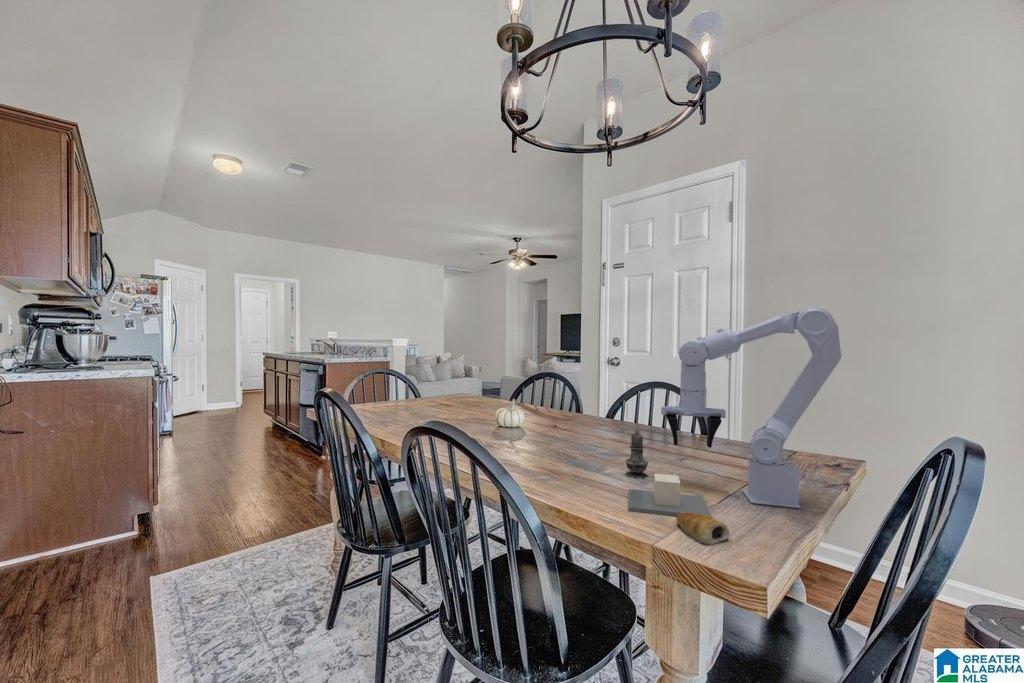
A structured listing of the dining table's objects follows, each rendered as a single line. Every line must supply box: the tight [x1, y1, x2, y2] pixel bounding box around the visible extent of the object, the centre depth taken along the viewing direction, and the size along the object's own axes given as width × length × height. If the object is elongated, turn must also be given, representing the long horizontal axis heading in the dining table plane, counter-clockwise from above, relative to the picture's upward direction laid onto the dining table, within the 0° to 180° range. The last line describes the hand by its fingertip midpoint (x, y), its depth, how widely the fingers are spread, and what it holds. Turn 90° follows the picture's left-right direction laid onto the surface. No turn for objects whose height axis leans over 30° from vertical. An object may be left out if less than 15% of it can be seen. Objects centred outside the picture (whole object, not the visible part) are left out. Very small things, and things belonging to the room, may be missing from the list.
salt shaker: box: [624, 430, 649, 479], centre depth 112 cm, size 6×6×12 cm
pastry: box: [676, 513, 730, 545], centre depth 80 cm, size 9×7×4 cm
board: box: [627, 488, 712, 517], centre depth 92 cm, size 16×11×1 cm
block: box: [653, 473, 682, 507], centre depth 93 cm, size 5×5×5 cm
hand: (692, 445), depth 105 cm, fingers open, 7 cm apart
